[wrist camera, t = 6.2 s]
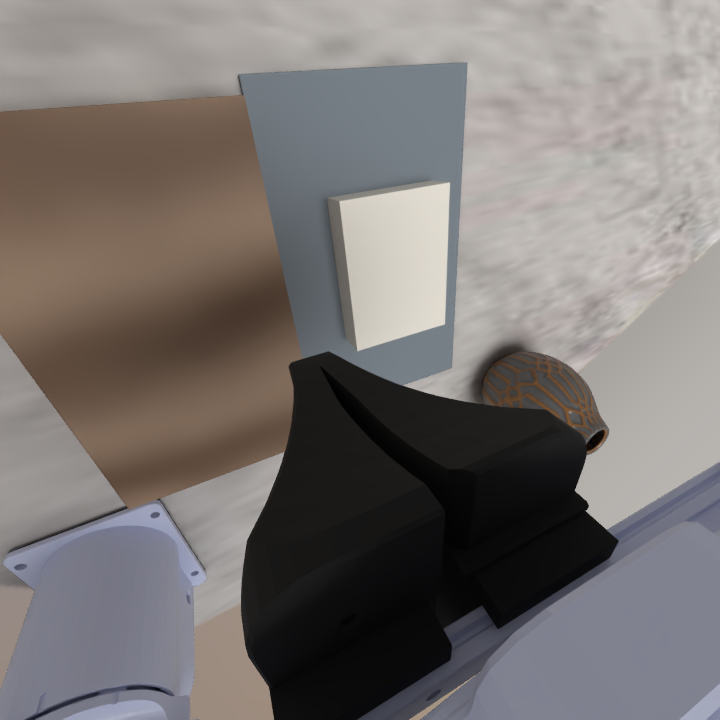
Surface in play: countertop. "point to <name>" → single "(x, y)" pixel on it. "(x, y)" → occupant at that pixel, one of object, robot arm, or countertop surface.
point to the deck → (148, 286)
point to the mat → (355, 186)
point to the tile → (391, 260)
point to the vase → (545, 392)
